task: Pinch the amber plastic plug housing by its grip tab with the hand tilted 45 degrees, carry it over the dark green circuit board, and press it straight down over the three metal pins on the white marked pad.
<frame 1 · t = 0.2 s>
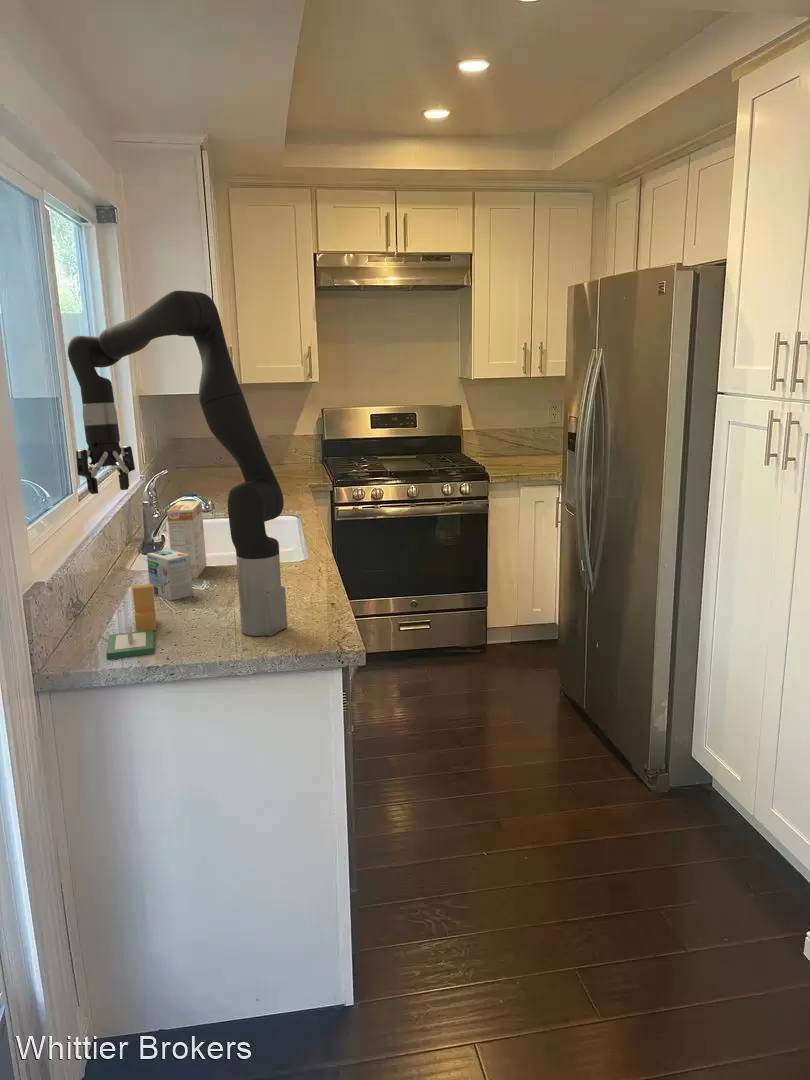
hand: (109, 491, 184), 28 cm above the counter, tool pointing down, fingers open, 8 cm apart
plug housing: (146, 626, 175), on the counter
light bulb box: (171, 595, 200), on the counter
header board: (131, 646, 162), on the counter
coffeecake box: (190, 572, 221), on the counter
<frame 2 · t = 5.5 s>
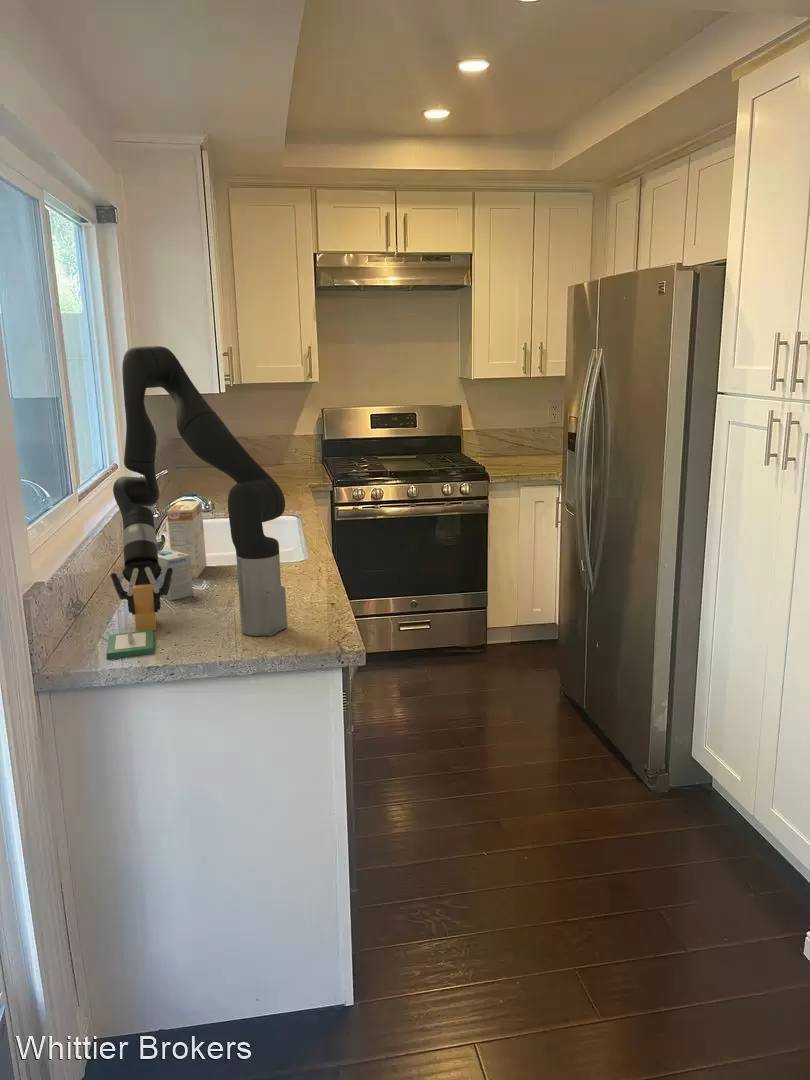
hand: (144, 611, 172), 4 cm above the counter, tool tilted 45°, fingers closed on plug housing, 4 cm apart
plug housing: (146, 626, 175), on the counter, touching gripper
everything else where it was.
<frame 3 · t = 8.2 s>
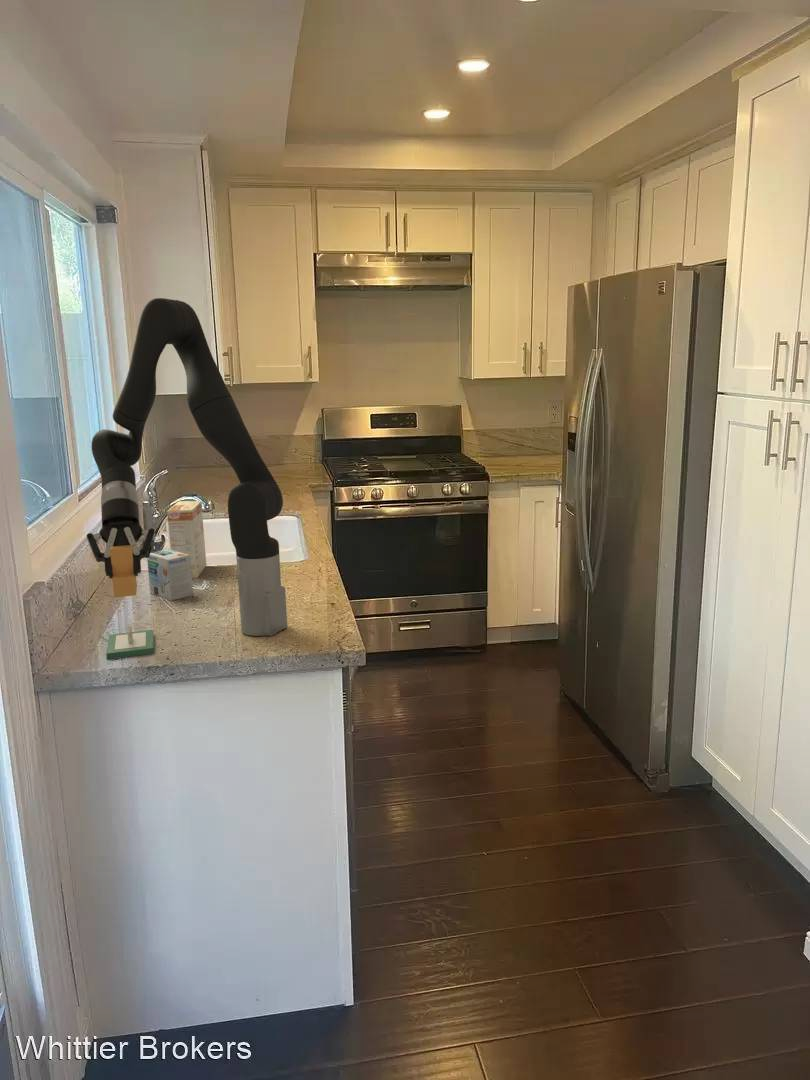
hand: (123, 574, 157), 16 cm above the counter, tool tilted 45°, fingers closed on plug housing, 4 cm apart
plug housing: (125, 591, 160), point 12 cm above the counter, touching gripper
everything else where it was.
when the fingers open (6 cm above the counter, at t = 11.0 s): plug housing stays where it is, resting on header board.
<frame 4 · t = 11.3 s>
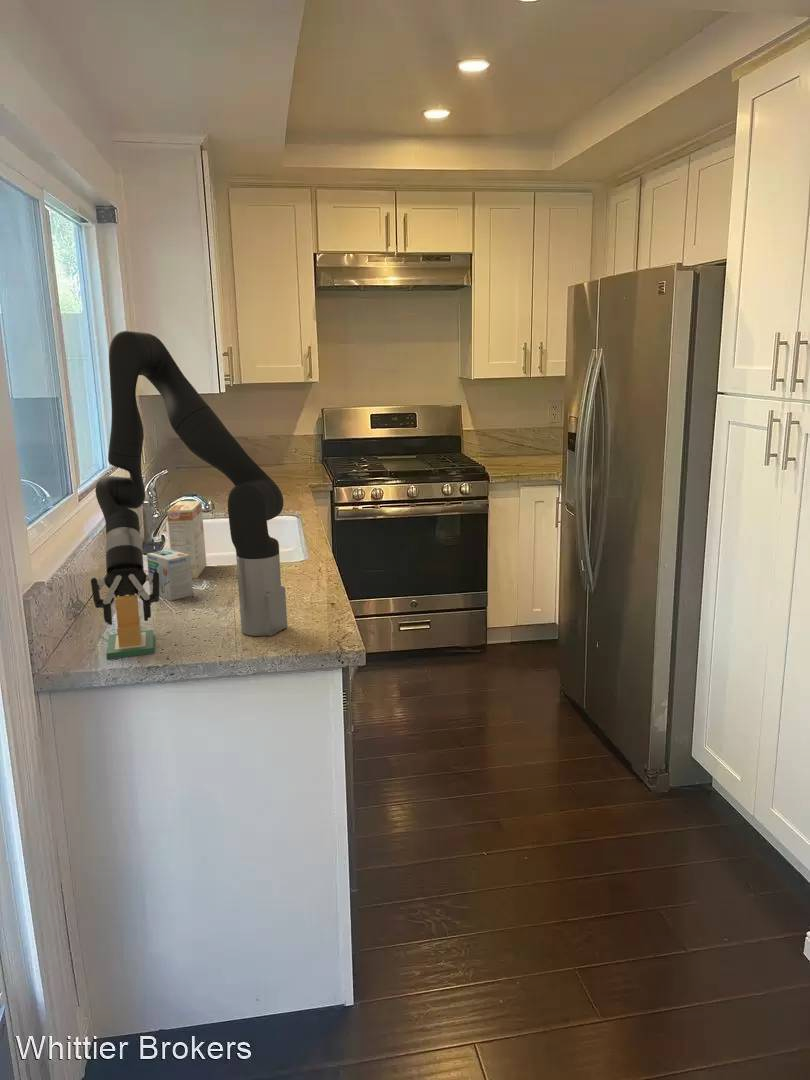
hand: (128, 620, 159), 6 cm above the counter, tool tilted 45°, fingers open, 6 cm apart
plug housing: (130, 640, 162), point 1 cm above the counter, touching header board
everything else where it was.
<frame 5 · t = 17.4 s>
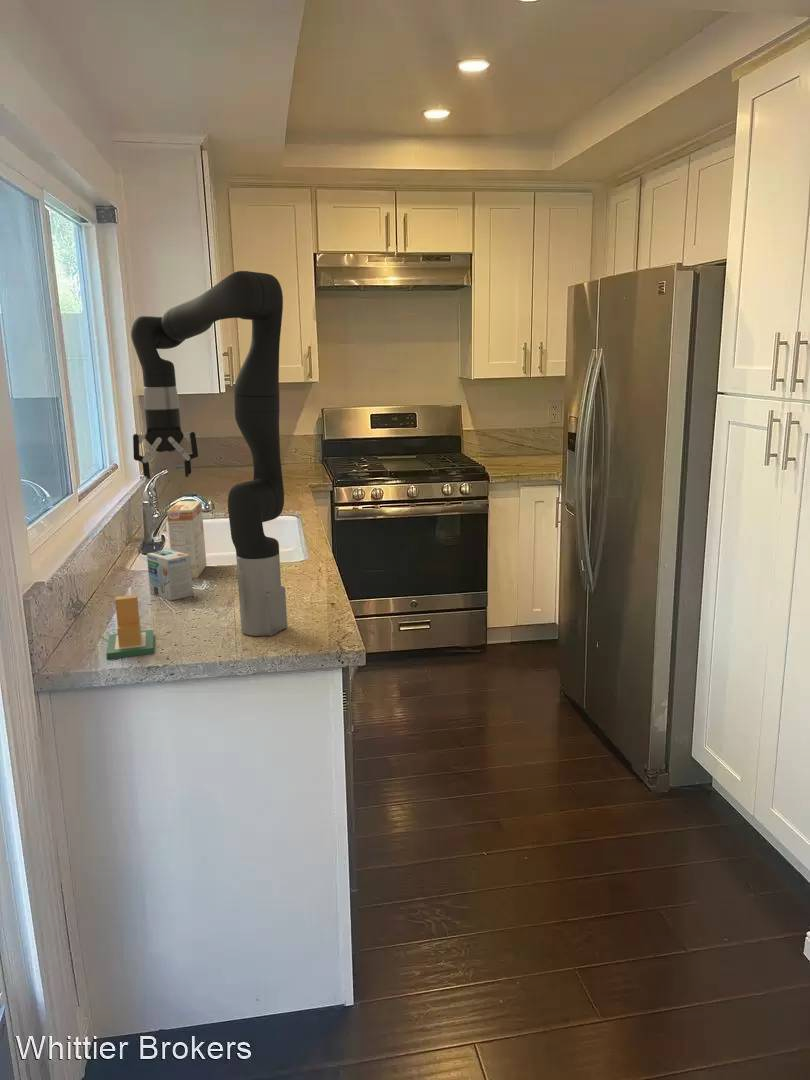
hand: (168, 477, 180), 32 cm above the counter, tool pointing down, fingers open, 8 cm apart
nothing on the counter moved.
at the end: plug housing 0.0 cm from the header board (horizontally); plug housing point 1.3 cm above the counter; plug housing tilted 0° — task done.
